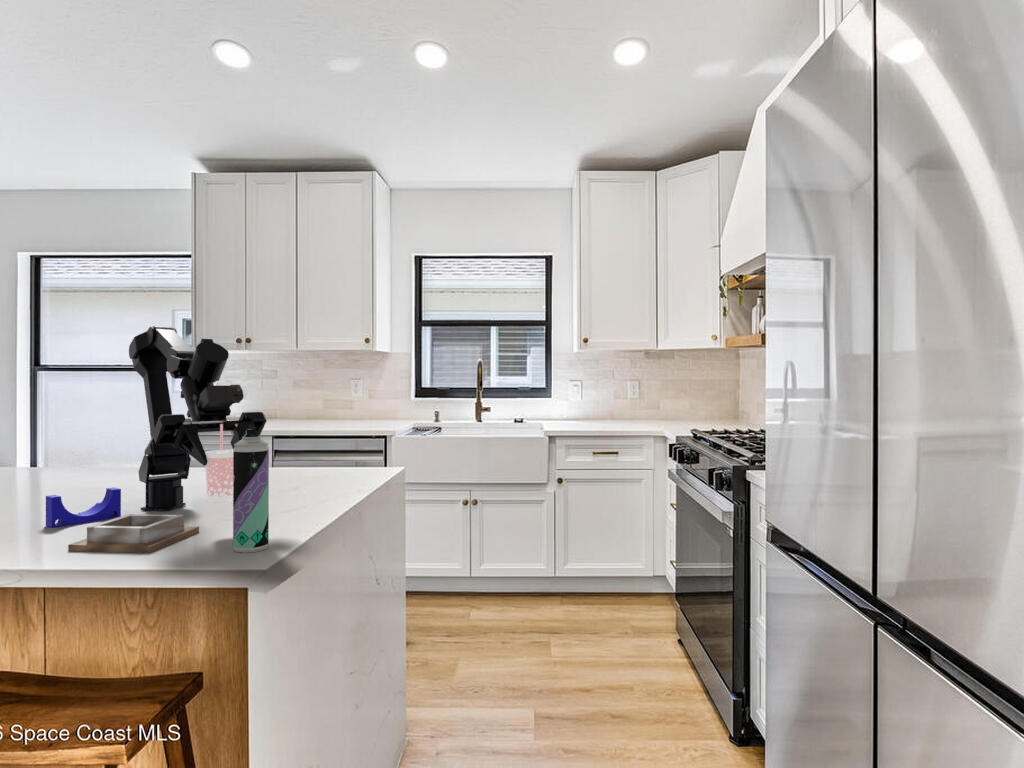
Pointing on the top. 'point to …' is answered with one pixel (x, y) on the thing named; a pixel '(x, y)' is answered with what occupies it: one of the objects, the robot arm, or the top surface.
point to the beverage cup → (219, 473)
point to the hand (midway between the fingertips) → (224, 462)
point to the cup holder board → (134, 534)
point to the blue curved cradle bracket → (98, 512)
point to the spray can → (250, 493)
